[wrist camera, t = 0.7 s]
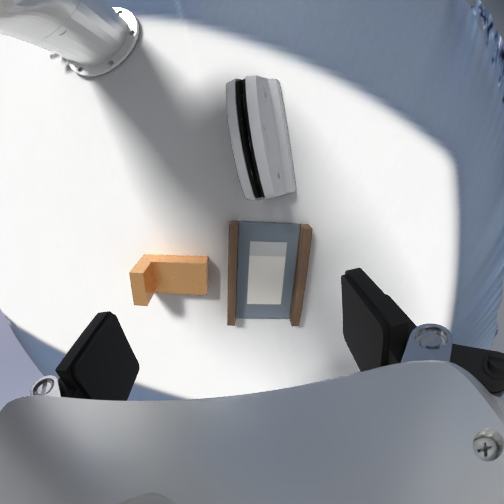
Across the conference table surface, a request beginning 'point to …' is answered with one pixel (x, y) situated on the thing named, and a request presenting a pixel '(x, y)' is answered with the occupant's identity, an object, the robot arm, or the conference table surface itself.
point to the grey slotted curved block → (260, 137)
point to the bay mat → (266, 269)
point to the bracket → (168, 276)
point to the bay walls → (298, 280)
